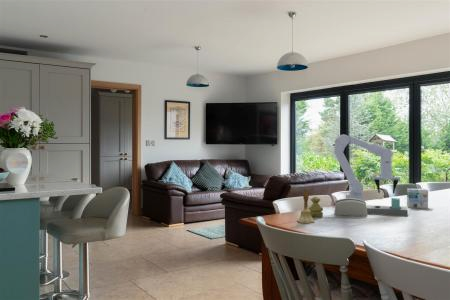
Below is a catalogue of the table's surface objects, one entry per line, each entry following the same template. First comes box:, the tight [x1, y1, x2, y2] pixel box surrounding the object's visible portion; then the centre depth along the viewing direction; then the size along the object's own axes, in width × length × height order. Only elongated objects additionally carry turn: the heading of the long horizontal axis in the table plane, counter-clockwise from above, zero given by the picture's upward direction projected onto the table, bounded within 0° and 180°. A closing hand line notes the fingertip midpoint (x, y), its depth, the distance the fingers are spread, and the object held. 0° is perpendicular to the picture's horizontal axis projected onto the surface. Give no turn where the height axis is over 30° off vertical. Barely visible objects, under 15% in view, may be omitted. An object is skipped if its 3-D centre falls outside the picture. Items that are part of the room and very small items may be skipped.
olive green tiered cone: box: [308, 196, 324, 218], centre depth 197 cm, size 7×7×10 cm
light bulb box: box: [406, 187, 429, 209], centre depth 225 cm, size 11×7×11 cm, turn 73°
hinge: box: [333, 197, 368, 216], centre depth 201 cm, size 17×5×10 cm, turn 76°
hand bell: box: [296, 188, 315, 224], centre depth 183 cm, size 8×8×16 cm
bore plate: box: [366, 204, 409, 217], centre depth 205 cm, size 20×12×3 cm, turn 67°
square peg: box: [390, 197, 401, 209], centre depth 203 cm, size 4×4×8 cm
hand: (386, 193), depth 217 cm, fingers open, 7 cm apart
